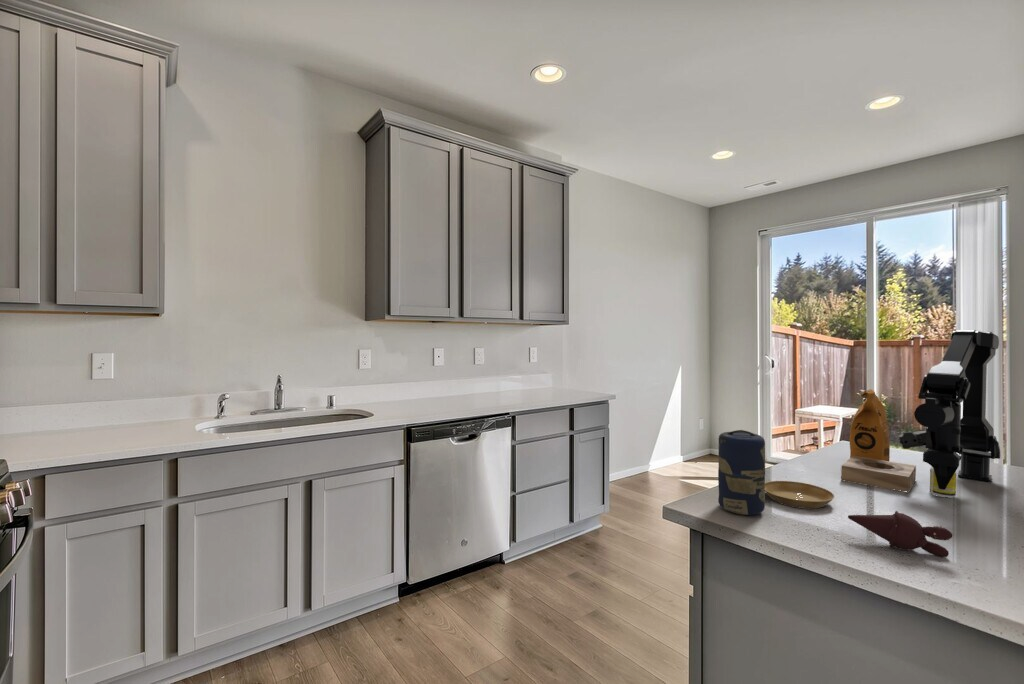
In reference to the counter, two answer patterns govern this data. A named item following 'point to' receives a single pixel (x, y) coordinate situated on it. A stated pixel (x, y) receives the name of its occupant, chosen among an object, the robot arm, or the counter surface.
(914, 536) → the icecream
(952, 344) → the robot arm
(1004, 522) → the counter surface
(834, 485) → the counter surface
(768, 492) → the plant saucer
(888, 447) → the coffee package
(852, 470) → the wooden holder block
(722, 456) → the canister
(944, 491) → the supplement bottle
